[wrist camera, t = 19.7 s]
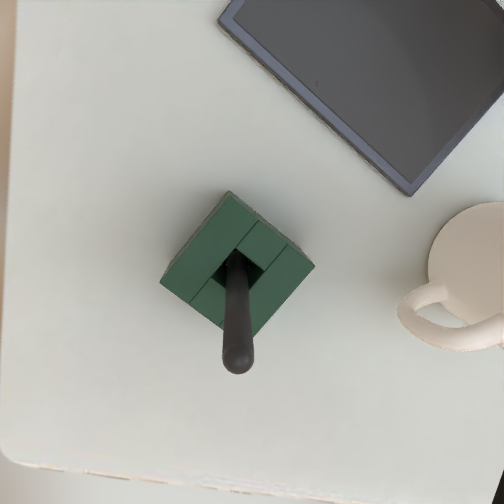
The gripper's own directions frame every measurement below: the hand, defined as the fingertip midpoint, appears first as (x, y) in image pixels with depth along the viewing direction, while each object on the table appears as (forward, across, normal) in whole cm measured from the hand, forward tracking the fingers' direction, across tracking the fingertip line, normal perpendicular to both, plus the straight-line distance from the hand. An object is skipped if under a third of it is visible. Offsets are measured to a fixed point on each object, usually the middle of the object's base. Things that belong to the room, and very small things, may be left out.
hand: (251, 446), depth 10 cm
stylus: (+21, 0, 0) cm, 21 cm away
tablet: (+21, +8, +16) cm, 28 cm away
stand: (+21, 0, 0) cm, 21 cm away
